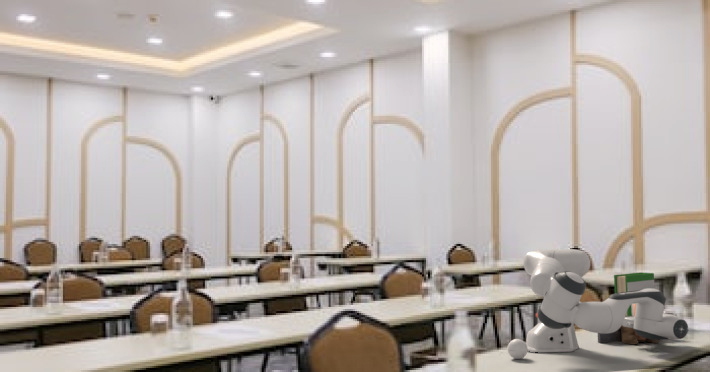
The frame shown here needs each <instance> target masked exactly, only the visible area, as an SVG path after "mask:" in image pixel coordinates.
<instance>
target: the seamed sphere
mask: <svg viewBox="0 0 710 372" xmlns="http://www.w3.org/2000/svg"><path fill="white" fill-rule="evenodd" d="M501 350H504V351H505V350H506V348H503V349H501ZM528 352H529V351H528V348H527V345H526V341H524V340H522V339H521V338H520V339H519V338H514V339H512V340H510V342H509V343H508V345H507V353H508V354H509V356H510V357H511V358H512V359H514V360H521V359H523V358H525V357H526V356H527V354H528Z"/></svg>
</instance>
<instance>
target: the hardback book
mask: <svg viewBox="0 0 710 372" xmlns="http://www.w3.org/2000/svg"><path fill="white" fill-rule="evenodd" d="M613 282H614V294H615V293H621V292H629V291H637V290H641V289H646V288H652V289H656V288H655V274H654V273H653V272H643V271H642V272H640V271H639V272H632V273H631V272H629V273H623V274H622V273H621V274H613ZM632 304H636V303H632ZM625 316H632V307H631V305H630V306H629V308H628V310H627V313H626V315H625Z"/></svg>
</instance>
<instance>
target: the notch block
mask: <svg viewBox="0 0 710 372" xmlns="http://www.w3.org/2000/svg"><path fill="white" fill-rule="evenodd" d="M621 334H622V342H621V343H623V344H629V345H637V344H638V343H641V342H648V343H652V344H653V343H660V340H651V339H648V338H646V339H645V340H637V336H635V331H634V329H633V328H629V327H624V326H621Z"/></svg>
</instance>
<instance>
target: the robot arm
mask: <svg viewBox="0 0 710 372" xmlns="http://www.w3.org/2000/svg"><path fill="white" fill-rule="evenodd" d="M523 267H524V270H525V272H526V273H527V275H529V276H530V280H529V286H530V289H531V291H532V292H533V293H534V294H535V295H537V296H539V297H543V299H542V302H541V305H540V306H539V307H538V311H537V312H536V313H535V317H536V318H538V321H539V322H538V323H537V324H536V325H535V326H534V327H532V328H531V329H530V330H528V332H527V334H526V339H525V343H526V345H527V348H528V351H527V352H529V351H530V352H531V353H535V352H538V353H561V352H562V353H563V352H565V353H566V352H574V351H575V350H578V349H579V348H580V345H579V343H578V342H579V341H578V339H577V335H576V327H577V328H579V329H580V330H584V331H587V332H590V333H595V334H598V333H603V334H607V333H613V332H615V331H617V330H618V329H619V328H620V327H621V326H624V327H629V328H633V329H634V331H635V332H636V333H637V334H638V335H639V336H641V337H644V338H648V339H651V340H659V341H661V340H665V339H664V338H665V337H666V338H668V339H672V340H683V339H684V338H686V336H687V334H688V332H689V325H688V323H687V321H686V319H683V317H679V316H678V315H677V313H672V312H671V313H670V312H667V313H666V312H664V310H665V304H666V300H667V298H666V296H665V295H664V293H663V291H661V290H659V289H657V288H655V289H652V288H646V289H641V290H637V291H629V292H621V293H615V292H614V293H611V294H610V295H609V296H608V298H606V299H605V300H603V301H583V302H582V301H580V300H582V299H581V298H582V296H583V295H584V293H585V292H586V289H587V288H586V287H587V283H586V281H585V279H584V278H583V277H584V276H585V275H587V273H588V272H589V271H590V267H591V259H590V257H589V255H588V254H587V253H586V251H584V250H580V249H576V248H575V249H573V248H564V249H563V248H561V249H559V248H557V249H555V248H553V249H536V250H532V251H531V250H530V251H528V252H527V253H526V254H525V256H524V258H523ZM632 303H636V311H635V316H633V317H625V315H626V313H627V310H628V308H629V306H630V305H631V304H632ZM575 326H576V327H575Z"/></svg>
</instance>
